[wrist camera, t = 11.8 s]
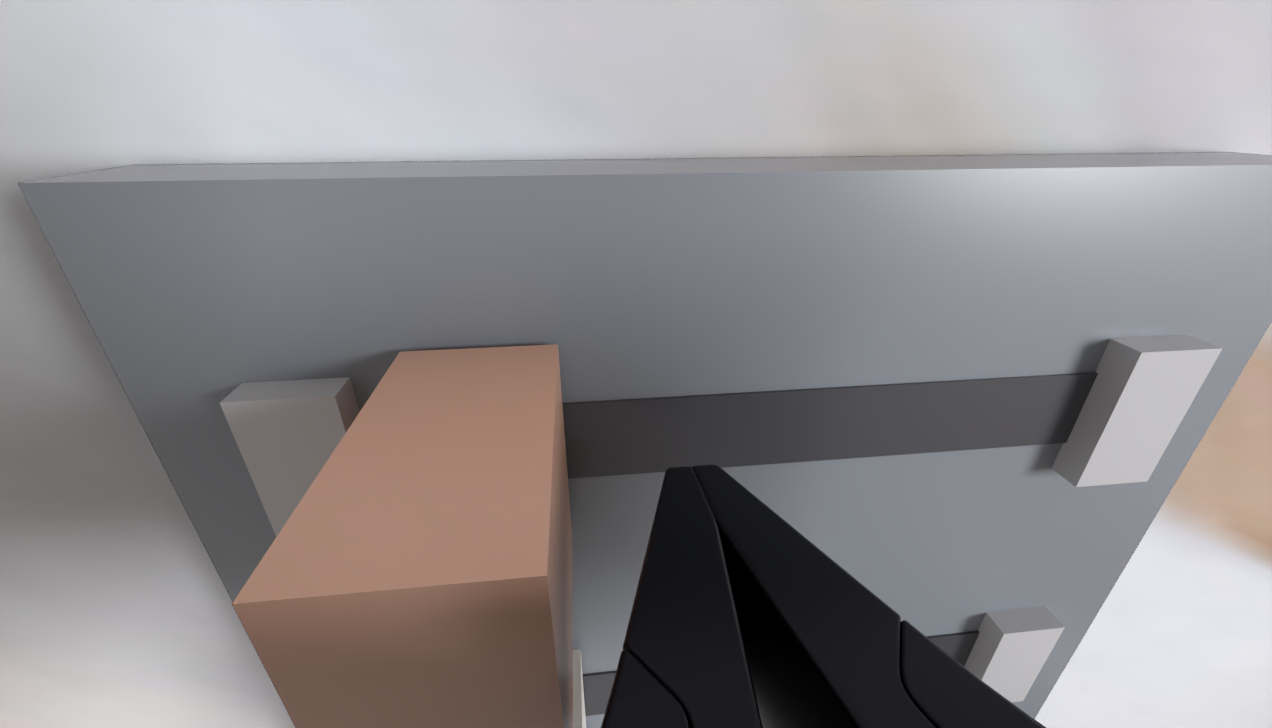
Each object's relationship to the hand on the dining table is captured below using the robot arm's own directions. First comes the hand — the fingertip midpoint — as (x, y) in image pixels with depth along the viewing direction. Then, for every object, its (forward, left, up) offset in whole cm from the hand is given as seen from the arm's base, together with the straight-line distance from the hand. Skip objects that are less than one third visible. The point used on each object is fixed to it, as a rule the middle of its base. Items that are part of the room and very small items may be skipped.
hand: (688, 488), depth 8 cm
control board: (-2, +8, -4) cm, 9 cm away
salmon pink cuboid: (+3, 0, -1) cm, 3 cm away
